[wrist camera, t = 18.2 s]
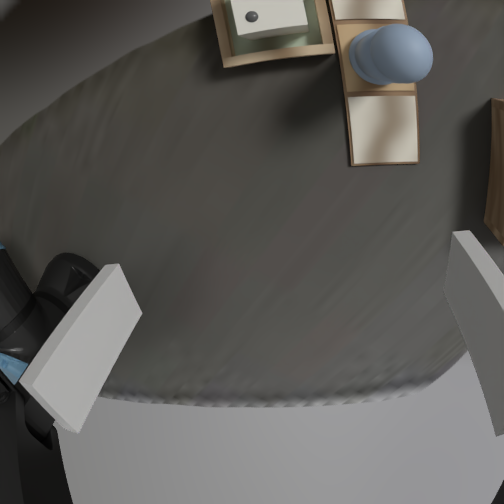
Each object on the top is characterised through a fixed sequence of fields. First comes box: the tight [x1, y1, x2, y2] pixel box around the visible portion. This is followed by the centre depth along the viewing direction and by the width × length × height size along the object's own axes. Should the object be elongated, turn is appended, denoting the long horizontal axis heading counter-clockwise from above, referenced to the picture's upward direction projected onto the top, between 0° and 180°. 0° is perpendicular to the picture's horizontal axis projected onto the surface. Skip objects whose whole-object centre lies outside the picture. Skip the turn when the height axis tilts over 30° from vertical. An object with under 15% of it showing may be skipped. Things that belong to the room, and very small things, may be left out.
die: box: [231, 0, 309, 40], centre depth 23 cm, size 6×6×6 cm
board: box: [328, 0, 420, 166], centre depth 27 cm, size 8×24×1 cm, turn 10°
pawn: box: [349, 24, 433, 85], centre depth 22 cm, size 6×6×12 cm
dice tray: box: [210, 0, 335, 68], centre depth 25 cm, size 11×11×2 cm
